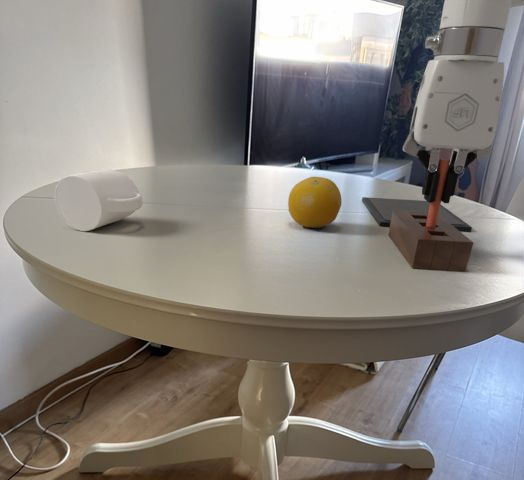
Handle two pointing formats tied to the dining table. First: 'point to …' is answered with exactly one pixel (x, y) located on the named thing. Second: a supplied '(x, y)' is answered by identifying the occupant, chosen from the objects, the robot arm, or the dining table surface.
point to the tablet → (385, 207)
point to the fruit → (314, 202)
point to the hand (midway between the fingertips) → (436, 200)
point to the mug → (96, 198)
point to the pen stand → (429, 242)
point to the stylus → (438, 193)
